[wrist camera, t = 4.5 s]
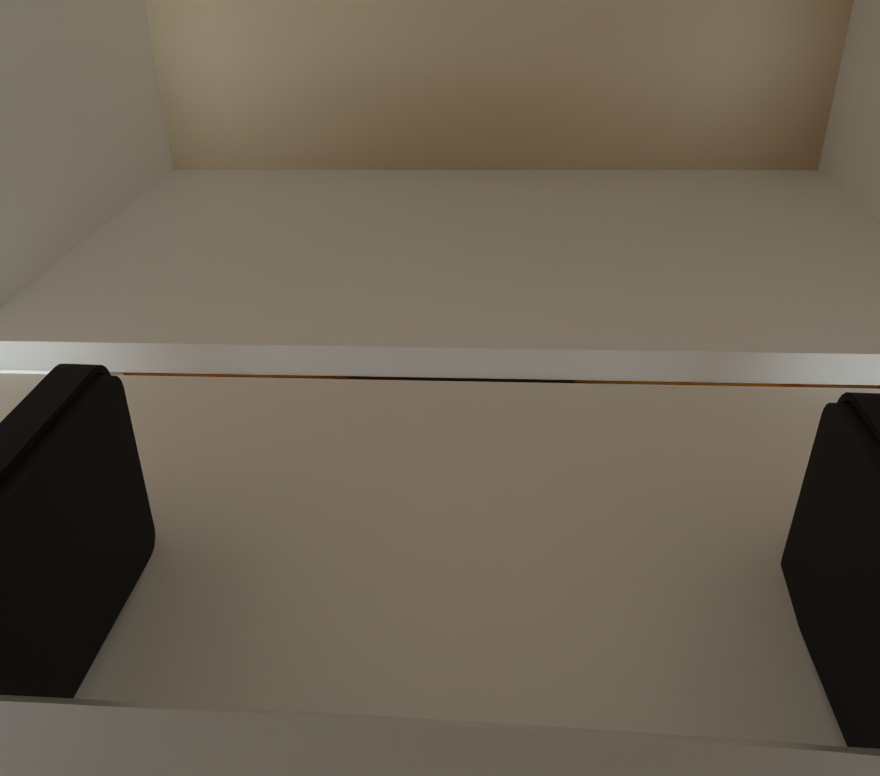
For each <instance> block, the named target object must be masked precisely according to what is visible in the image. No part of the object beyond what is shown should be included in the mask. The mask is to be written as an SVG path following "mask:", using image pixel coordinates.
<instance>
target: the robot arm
mask: <svg viewBox="0 0 880 776" xmlns="http://www.w3.org/2000/svg"><path fill="white" fill-rule="evenodd" d="M154 545H155V527H154V522H153V518H152V513H151V509H150V504H149V500H148V495H147V490H146V486H145V481H144V477H143V472H142V468H141V463H140V458H139V454H138V449H137V445H136V440H135V436H134V431H133V427H132V422H131V417H130V413H129V408H128V404H127V399H126V395H125V390H124V386H123V383H122V381H121V379H120V378H119V377H117V376H111V374H110V372H109V371H108V369H107V368H106V367H105V366H103V365H91V364H58V365H57V366H55V367H54V368H53V369H52V370H51V371H50V372H49V373H48V374H47V375H46V376H45V377H44V378H43V379H42V380H41V381H40V382H39V383H38V384H37V386H36V387H35V388H34V389H33V390H32V391H31V392H30V393H29V394H28V395H27V396H26V397H25V398H24V399H23V400H22V401H21V402H20V403H19V404H18V405H17V406H16V407H15V408H14V409H13V410H12V411H11V412H10V413H9V414H8V415H7V416H6V417H5V418H4V419H3V420H2V421H1V422H0V776H880V393H854V392H846V393H844V394H842V395H841V397H840V398H839V399H838V401H837V403H828V404H826V406H825V407H824V409H823V411H822V414H821V418H820V421H819V425H818V429H817V432H816V436H815V439H814V443H813V447H812V450H811V454H810V458H809V461H808V465H807V468H806V472H805V476H804V479H803V483H802V487H801V490H800V494H799V497H798V501H797V505H796V508H795V512H794V516H793V519H792V523H791V526H790V530H789V534H788V537H787V541H786V545H785V548H784V552H783V555H782V560H781V568H782V571H783V575H784V578H785V582H786V585H787V588H788V592H789V595H790V599H791V602H792V606H793V609H794V612H795V616H796V619H797V623H798V626H799V629H800V631H801V634H802V636H803V639H804V641H805V644H806V646H807V649H808V651H809V654H810V656H811V659H812V661H813V664H814V666H815V668H816V671H817V673H818V676H819V678H820V681H821V683H822V686H823V688H824V691H825V693H826V696H827V698H828V701H829V703H830V705H831V708H832V710H833V713H834V715H835V718H836V720H837V723H838V725H839V728H840V730H841V733H842V735H843V737H844V740H845V742H846V745H847V747H843V746H830V745H817V744H805V743H792V742H779V741H764V740H749V739H734V738H719V737H704V736H689V735H674V734H659V733H644V732H629V731H614V730H599V729H584V728H569V727H553V726H537V725H521V724H505V723H489V722H473V721H457V720H440V719H424V718H408V717H391V716H374V715H358V714H341V713H325V712H308V711H291V710H273V709H255V708H237V707H219V706H201V705H183V704H165V703H147V702H129V701H110V700H92V699H73V698H74V696H75V695H76V693H77V691H78V689H79V687H80V686H81V684H82V682H83V680H84V678H85V676H86V675H87V673H88V671H89V669H90V667H91V665H92V664H93V662H94V660H95V658H96V656H97V654H98V653H99V651H100V649H101V647H102V645H103V643H104V642H105V640H106V638H107V636H108V634H109V632H110V631H111V629H112V627H113V625H114V623H115V622H116V620H117V618H118V616H119V614H120V612H121V611H122V609H123V607H124V605H125V603H126V601H127V600H128V598H129V596H130V594H131V592H132V590H133V589H134V587H135V585H136V583H137V581H138V579H139V578H140V576H141V574H142V572H143V570H144V568H145V567H146V565H147V563H148V561H149V559H150V558H151V555H152V553H153V549H154Z"/></svg>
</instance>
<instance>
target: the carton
mask: <svg viewBox="0 0 880 776" xmlns="http://www.w3.org/2000/svg"><path fill="white" fill-rule="evenodd" d="M58 364H91V365H103V366H105V367H106V368H107V369H108V371H109V372H140V373H198V374H255V375H313V376H370V377H428V378H486V379H543V380H601V381H659V382H716V383H774V384H832V385H880V0H0V370H25V371H51V370H52V369H53V368H54V367H55V366H57V365H58Z"/></svg>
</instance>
